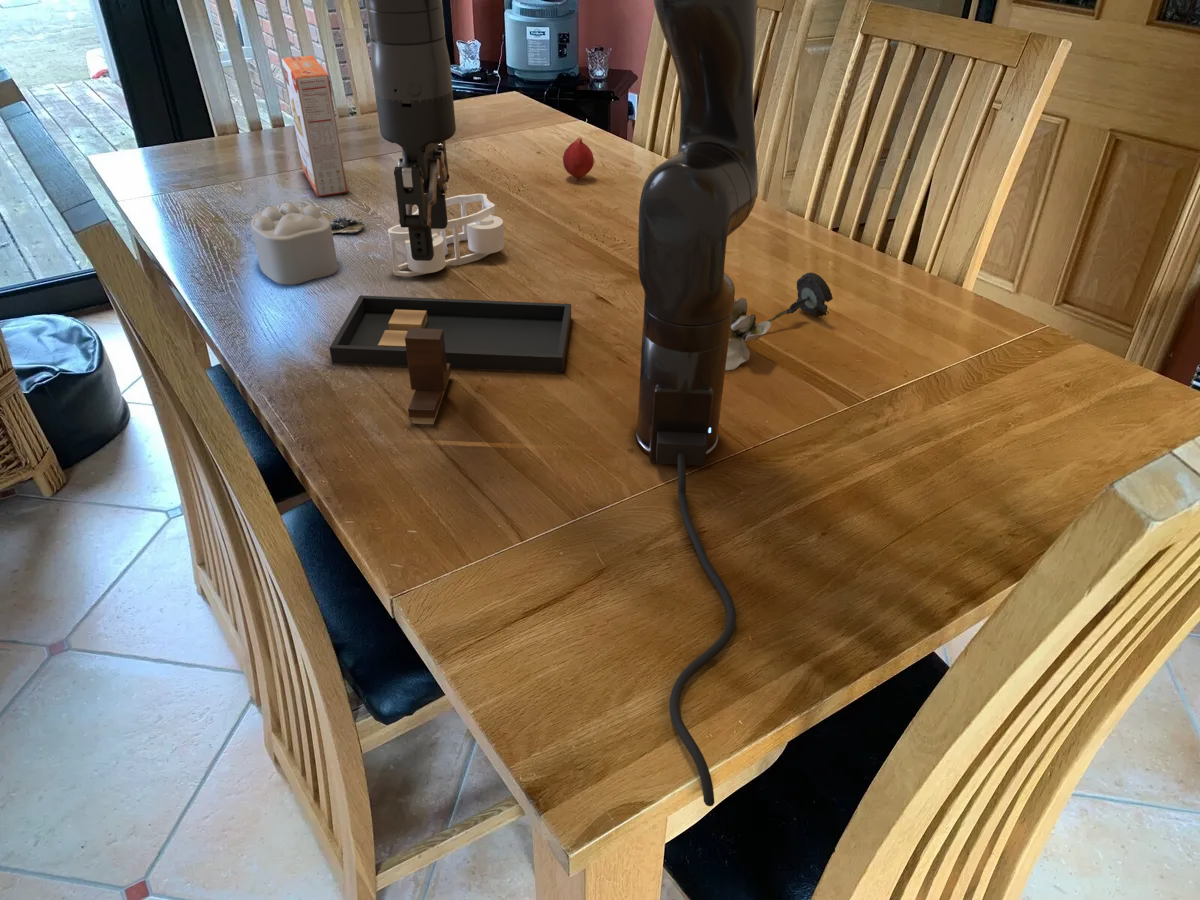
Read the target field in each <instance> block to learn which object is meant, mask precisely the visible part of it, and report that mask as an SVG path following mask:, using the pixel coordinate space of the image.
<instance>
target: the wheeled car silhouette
mask: <svg viewBox="0 0 1200 900" xmlns="http://www.w3.org/2000/svg"><path fill="white" fill-rule="evenodd" d="M445 200H446V208H447V207H450V206H454V205H460V212H461V213H460V214H461V217H458V218H457V217H456V218H453V219H447V220H448V224H447V226H446V228H444V229H431V231H432V240H433V250H434V256H433V258H432V260H430V261H416V260H414V259H413V258H412V254H411V246H410V238H409V230H408V227H406V228H404V227H401V225H400V223H399V224H396V225H394V226H391V227H390V228H388V229H387V234H388V239H389V244H390V245H389V246H390V253H391V262H392V268H393V269H392V272H393V275H394V276H396V277H397V276H398V277H415V276H421V275H426V274H431V273H436V272H439V271H441V270H443V269H444V268H445V267H446V266H462V265H466V264H470V263H473V262H475V261H479V260H481V259H484V258H485V257H487V256H488V255H490V254H494V253H498V252H501V251H502V250H503V249H504V247H505V235H504V233H505V232H504V220H503V219H502V218H501V217H499V216H497V215H493V214H495V213H496V205H495V203H493V202H492V201H490V200H489V199H488V195H487V194H486V193H473V194H459V195H454V196H449V197H447V198H446V197H445ZM477 202H481V210H479V211H477V212H475V213H472V214H469V215H468V214H467V204H470V203H471V204H472V203H477ZM412 215H419V212H418V208H417V209H416V211H414V212H412ZM459 227H461V228H462V232H459ZM449 229H452V234H451V235H447V233H446V230H449ZM439 233H440V234H439ZM396 241H399V242H404V243H405V245H404V246H405V252H406V253H405V254H406V260H407V261H406V262H404V263H401V264H399V260H398V259H399V258H398V251H397V244H396ZM461 241H467V248H468V250H470V251H471V252H473V253H469V254H466V255H463V256H461V247H460V242H461ZM449 244H453V249H454V258H449V259H446V256H447V255H448V254H449V249H448V246H447V245H449ZM404 269H408V270H410V271H404Z"/></svg>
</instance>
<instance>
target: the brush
mask: <svg viewBox="0 0 1200 900" xmlns="http://www.w3.org/2000/svg"><path fill="white" fill-rule="evenodd" d="M405 344H406V352H407V360H408V366H407V368H408V374H409V382H410V390H412V391H414V392H413V394H412V395H413V396H412V398H411V401H410V403H409V406H408V408H407V411H408V418H412V419H411V420H412V424H415V425H417V424H419V425H434V424H435V420H436V418H437V415H438V412H439V409H440V406H441V404H442V400H443V398H444V395H445V393H446V389H447V387H448V383H449V380H450V375H451V373H452V368H451V366H450V363H447V361H446V351H445V341H444V330H443V329H422V328H409V330H408V332H407V334H406V337H405Z"/></svg>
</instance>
